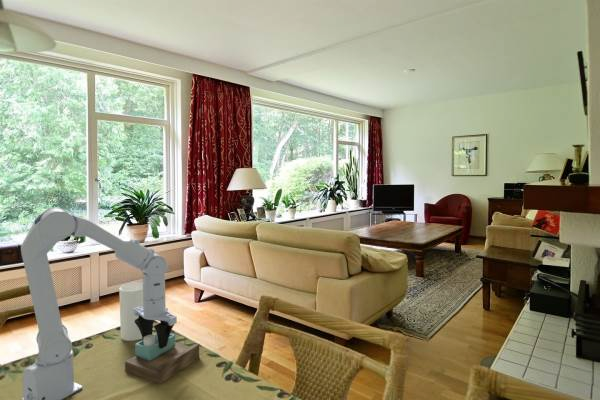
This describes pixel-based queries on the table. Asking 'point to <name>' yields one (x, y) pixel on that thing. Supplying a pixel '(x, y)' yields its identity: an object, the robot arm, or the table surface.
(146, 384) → the table surface
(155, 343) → the light blue open box
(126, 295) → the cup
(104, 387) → the table surface
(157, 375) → the brown flat block
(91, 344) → the table surface
